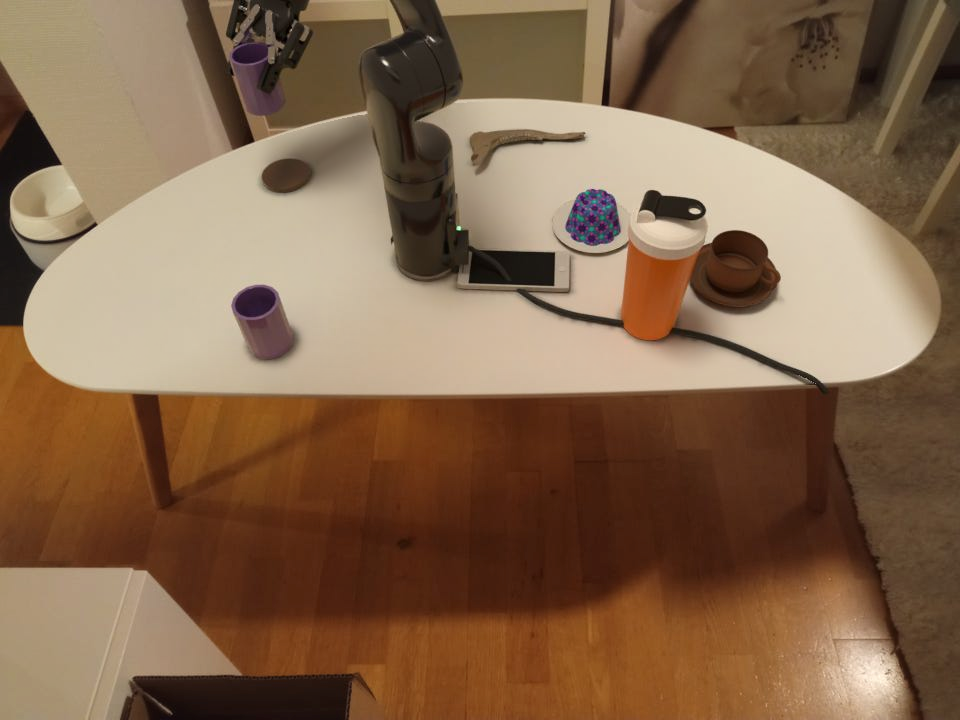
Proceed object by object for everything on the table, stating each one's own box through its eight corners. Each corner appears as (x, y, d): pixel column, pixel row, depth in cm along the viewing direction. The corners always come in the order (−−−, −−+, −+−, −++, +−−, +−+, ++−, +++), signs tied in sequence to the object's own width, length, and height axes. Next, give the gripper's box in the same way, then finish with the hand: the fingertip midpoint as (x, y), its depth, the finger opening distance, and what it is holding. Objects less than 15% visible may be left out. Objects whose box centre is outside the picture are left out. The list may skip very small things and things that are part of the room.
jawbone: (452, 146, 126) (451, 135, 125) (561, 114, 131) (561, 103, 130) (474, 174, 120) (473, 163, 119) (587, 139, 125) (588, 128, 124)
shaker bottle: (679, 350, 98) (712, 236, 82) (610, 341, 99) (629, 226, 83) (682, 300, 103) (713, 183, 87) (616, 291, 105) (635, 175, 89)
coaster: (313, 161, 124) (312, 157, 123) (306, 192, 119) (305, 188, 119) (267, 162, 124) (266, 158, 124) (258, 193, 120) (257, 189, 119)
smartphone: (568, 292, 105) (569, 287, 104) (457, 288, 106) (456, 284, 105) (569, 255, 109) (569, 251, 108) (462, 252, 110) (461, 247, 109)
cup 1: (291, 107, 111) (278, 56, 104) (253, 120, 109) (237, 70, 103) (276, 87, 114) (262, 37, 107) (239, 100, 112) (222, 50, 106)
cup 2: (297, 325, 103) (283, 284, 96) (289, 359, 99) (274, 319, 93) (253, 325, 103) (237, 284, 97) (244, 359, 99) (226, 319, 93)
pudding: (535, 227, 113) (536, 199, 109) (590, 190, 118) (593, 162, 113) (595, 269, 107) (598, 242, 103) (650, 228, 112) (656, 200, 108)
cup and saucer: (775, 258, 107) (788, 225, 103) (772, 321, 100) (785, 289, 96) (689, 244, 110) (698, 212, 105) (680, 305, 103) (688, 273, 98)
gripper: (236, -63, 103) (195, 58, 107) (309, -33, 97) (262, 93, 101) (275, -38, 109) (235, 75, 113) (346, -9, 104) (300, 109, 108)
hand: (248, 83), depth 107 cm, fingers closed on cup 1, 6 cm apart
